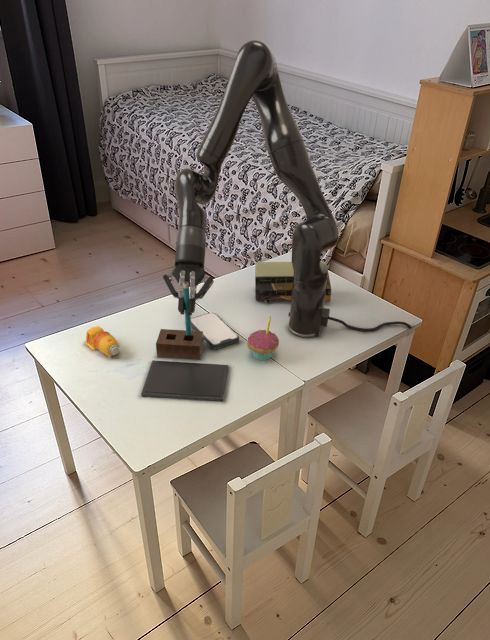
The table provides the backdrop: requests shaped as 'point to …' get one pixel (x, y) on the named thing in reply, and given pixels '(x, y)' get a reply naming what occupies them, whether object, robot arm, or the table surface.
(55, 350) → the table surface
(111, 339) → the toy figure
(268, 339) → the cupcake
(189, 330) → the stylus
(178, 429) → the table surface
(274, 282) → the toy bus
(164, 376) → the tablet
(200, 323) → the smartphone
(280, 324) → the table surface
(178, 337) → the pen stand
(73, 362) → the table surface
